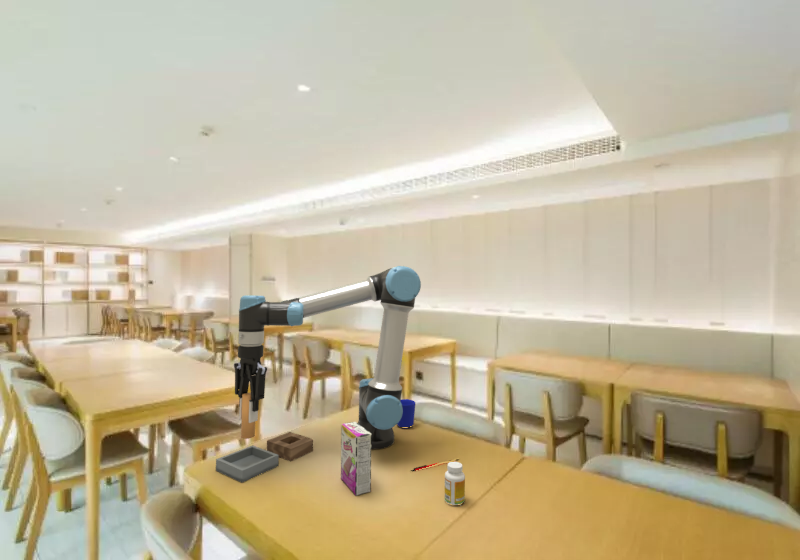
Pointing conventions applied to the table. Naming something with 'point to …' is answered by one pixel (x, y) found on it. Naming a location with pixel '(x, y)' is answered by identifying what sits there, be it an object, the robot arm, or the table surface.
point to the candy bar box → (356, 457)
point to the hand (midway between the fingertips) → (248, 419)
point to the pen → (422, 467)
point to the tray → (246, 463)
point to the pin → (246, 418)
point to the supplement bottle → (454, 484)
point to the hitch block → (290, 446)
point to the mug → (407, 413)
